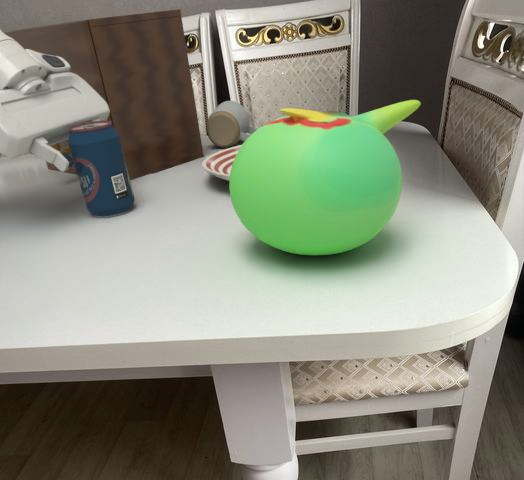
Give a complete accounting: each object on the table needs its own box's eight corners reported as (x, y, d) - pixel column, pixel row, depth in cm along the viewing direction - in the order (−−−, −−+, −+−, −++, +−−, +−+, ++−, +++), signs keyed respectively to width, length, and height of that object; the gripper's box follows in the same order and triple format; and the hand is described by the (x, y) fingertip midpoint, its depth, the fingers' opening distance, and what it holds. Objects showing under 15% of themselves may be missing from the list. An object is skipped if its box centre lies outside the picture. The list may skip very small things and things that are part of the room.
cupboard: (127, 181, 91) (88, 19, 78) (53, 167, 107) (10, 30, 94) (203, 156, 101) (180, 9, 88) (126, 146, 117) (96, 20, 104)
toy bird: (209, 258, 59) (185, 117, 51) (299, 211, 69) (291, 87, 61) (347, 295, 48) (344, 123, 40) (429, 232, 58) (440, 86, 50)
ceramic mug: (206, 150, 105) (201, 108, 101) (216, 140, 112) (211, 101, 108) (258, 147, 103) (254, 105, 99) (265, 138, 110) (262, 98, 106)
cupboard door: (92, 192, 87) (46, 25, 74) (21, 176, 103) (-28, 36, 90) (126, 181, 91) (87, 20, 78) (52, 167, 107) (9, 31, 94)
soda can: (80, 215, 77) (54, 129, 71) (118, 201, 81) (97, 118, 75) (107, 222, 73) (82, 131, 67) (146, 207, 77) (126, 120, 71)
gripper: (-45, 75, 62) (46, 160, 63) (70, 56, 77) (141, 124, 79) (-54, 117, 66) (31, 196, 67) (57, 91, 81) (124, 156, 83)
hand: (91, 157), depth 73 cm, fingers open, 8 cm apart
